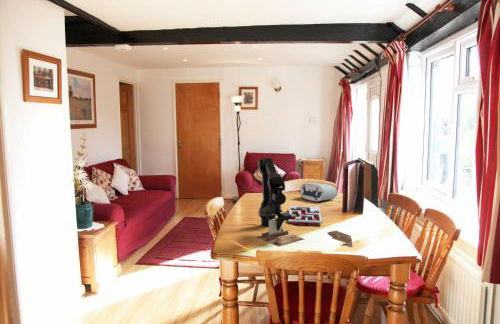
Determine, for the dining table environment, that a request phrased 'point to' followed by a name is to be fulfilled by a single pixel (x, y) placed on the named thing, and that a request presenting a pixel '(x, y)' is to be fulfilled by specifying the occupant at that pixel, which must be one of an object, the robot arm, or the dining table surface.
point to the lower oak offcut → (287, 241)
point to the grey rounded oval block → (317, 191)
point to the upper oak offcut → (286, 237)
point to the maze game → (305, 215)
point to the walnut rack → (275, 237)
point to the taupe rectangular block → (273, 227)
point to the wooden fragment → (341, 237)
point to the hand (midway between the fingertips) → (275, 229)
